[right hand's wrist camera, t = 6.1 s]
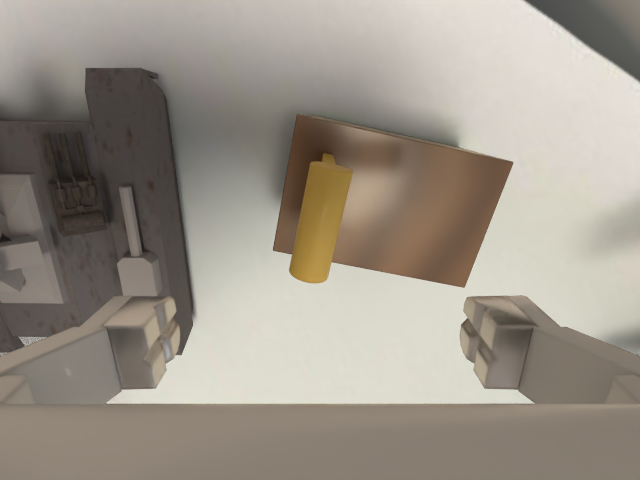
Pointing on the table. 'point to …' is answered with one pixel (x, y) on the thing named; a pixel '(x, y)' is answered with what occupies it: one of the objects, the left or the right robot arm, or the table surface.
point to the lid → (384, 204)
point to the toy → (90, 211)
